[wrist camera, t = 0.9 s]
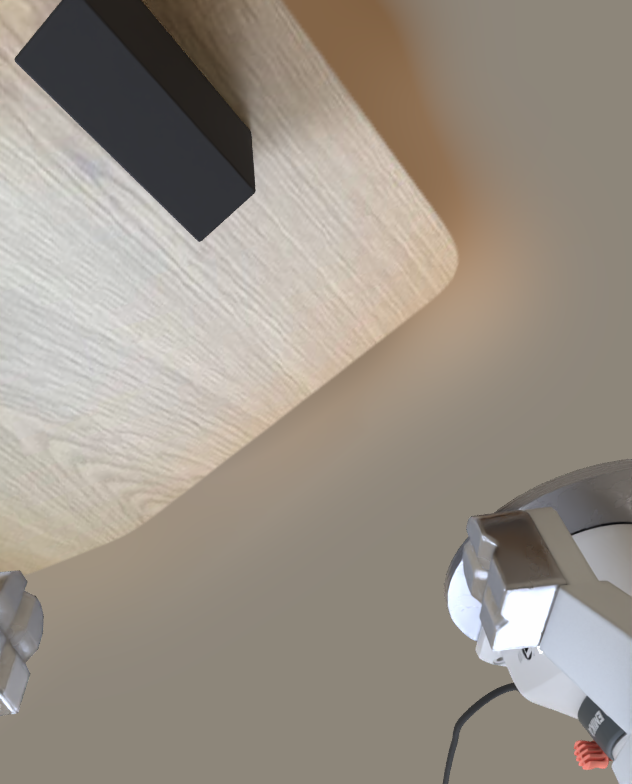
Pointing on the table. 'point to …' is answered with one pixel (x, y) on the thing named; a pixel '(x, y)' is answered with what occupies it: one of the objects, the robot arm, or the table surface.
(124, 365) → the table surface
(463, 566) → the robot arm
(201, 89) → the dark grey block
